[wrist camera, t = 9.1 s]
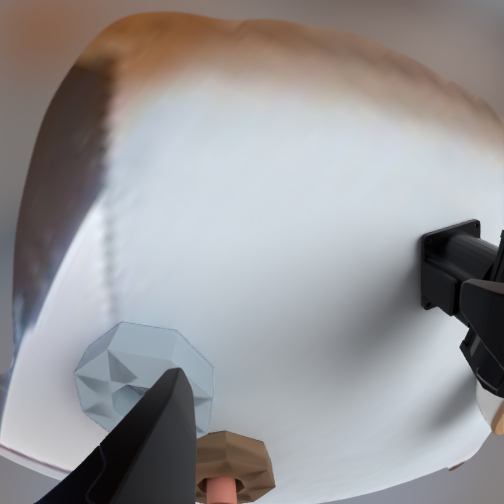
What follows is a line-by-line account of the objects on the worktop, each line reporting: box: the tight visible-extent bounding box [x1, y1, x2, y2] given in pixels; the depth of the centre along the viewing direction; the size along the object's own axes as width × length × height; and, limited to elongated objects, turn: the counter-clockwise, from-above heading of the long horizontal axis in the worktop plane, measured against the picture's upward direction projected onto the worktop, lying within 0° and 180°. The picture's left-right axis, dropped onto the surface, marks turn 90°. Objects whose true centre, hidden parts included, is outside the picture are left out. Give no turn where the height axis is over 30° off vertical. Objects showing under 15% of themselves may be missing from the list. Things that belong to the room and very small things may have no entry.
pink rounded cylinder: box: [207, 476, 237, 504], centre depth 23 cm, size 3×3×7 cm
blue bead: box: [74, 322, 213, 438], centre depth 21 cm, size 10×10×4 cm
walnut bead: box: [195, 431, 276, 504], centre depth 25 cm, size 10×10×4 cm
